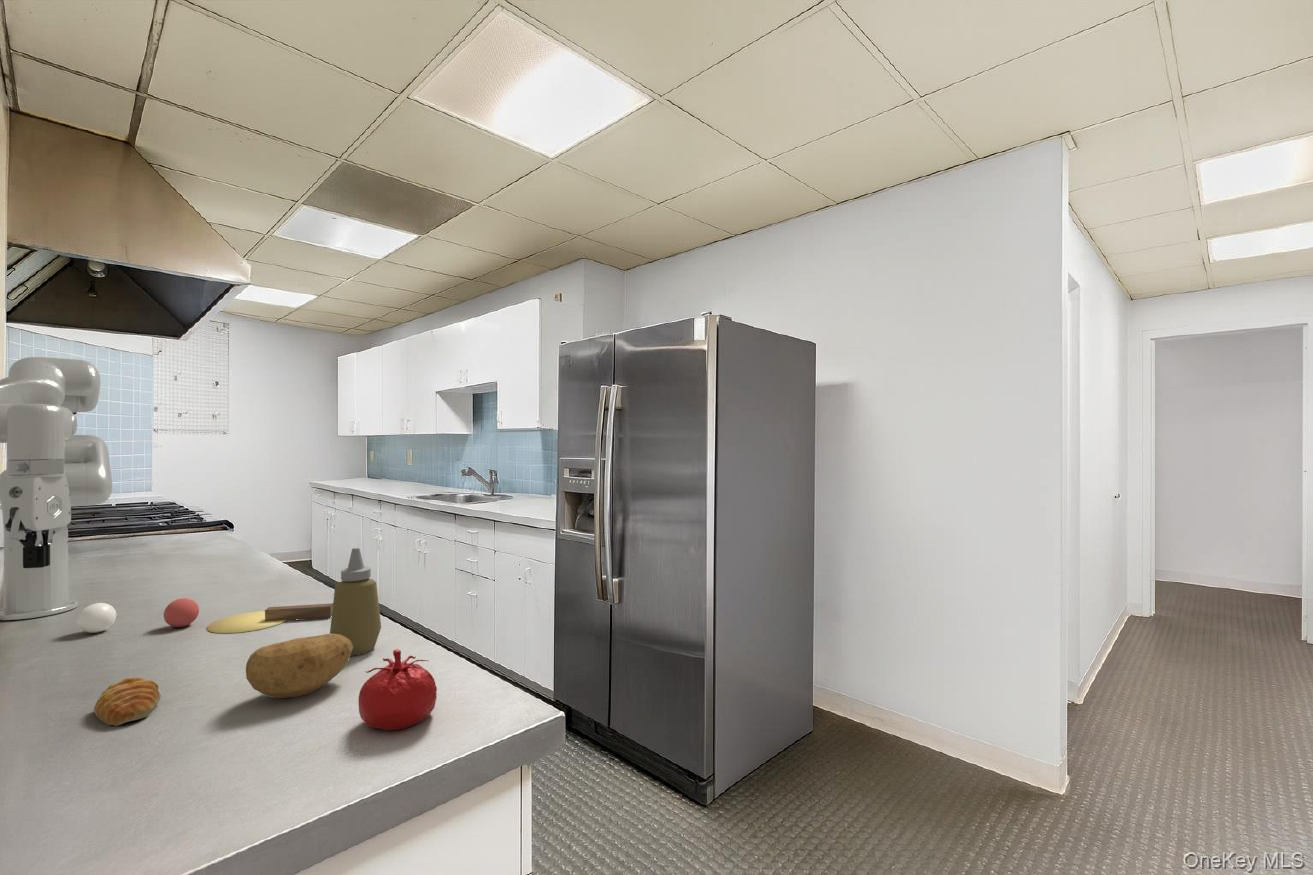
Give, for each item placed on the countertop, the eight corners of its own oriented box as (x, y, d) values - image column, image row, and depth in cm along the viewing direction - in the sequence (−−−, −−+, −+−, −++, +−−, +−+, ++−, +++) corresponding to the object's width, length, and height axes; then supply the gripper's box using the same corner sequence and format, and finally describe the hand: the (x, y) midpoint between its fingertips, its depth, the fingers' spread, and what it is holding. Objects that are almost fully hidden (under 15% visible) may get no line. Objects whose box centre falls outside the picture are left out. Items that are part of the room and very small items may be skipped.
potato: (364, 686, 89) (364, 633, 89) (256, 719, 79) (256, 659, 79) (339, 669, 96) (339, 619, 96) (235, 698, 85) (235, 642, 85)
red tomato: (387, 747, 72) (387, 671, 72) (341, 726, 77) (341, 654, 77) (454, 715, 80) (454, 646, 80) (408, 697, 86) (408, 633, 86)
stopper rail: (330, 617, 123) (330, 605, 123) (265, 622, 120) (264, 609, 120) (333, 615, 125) (333, 603, 125) (268, 619, 122) (268, 607, 122)
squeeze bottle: (318, 655, 102) (318, 550, 102) (358, 640, 109) (358, 543, 109) (353, 662, 99) (353, 554, 99) (391, 646, 106) (391, 546, 106)
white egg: (72, 633, 113) (72, 604, 113) (110, 625, 118) (110, 598, 118) (82, 638, 110) (82, 609, 110) (121, 630, 115) (121, 602, 115)
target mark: (193, 625, 118) (193, 624, 118) (269, 608, 130) (269, 607, 130) (227, 638, 110) (227, 637, 110) (304, 618, 122) (304, 617, 122)
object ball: (158, 627, 116) (158, 599, 116) (191, 620, 121) (191, 593, 121) (170, 632, 113) (170, 604, 113) (204, 624, 118) (204, 597, 118)
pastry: (166, 717, 80) (165, 689, 80) (97, 735, 75) (96, 706, 75) (156, 696, 87) (156, 669, 86) (92, 711, 82) (92, 684, 82)
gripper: (29, 470, 105) (29, 574, 105) (87, 467, 120) (88, 558, 120) (-24, 471, 103) (-24, 577, 103) (42, 468, 118) (42, 560, 118)
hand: (36, 566), depth 111 cm, fingers closed
